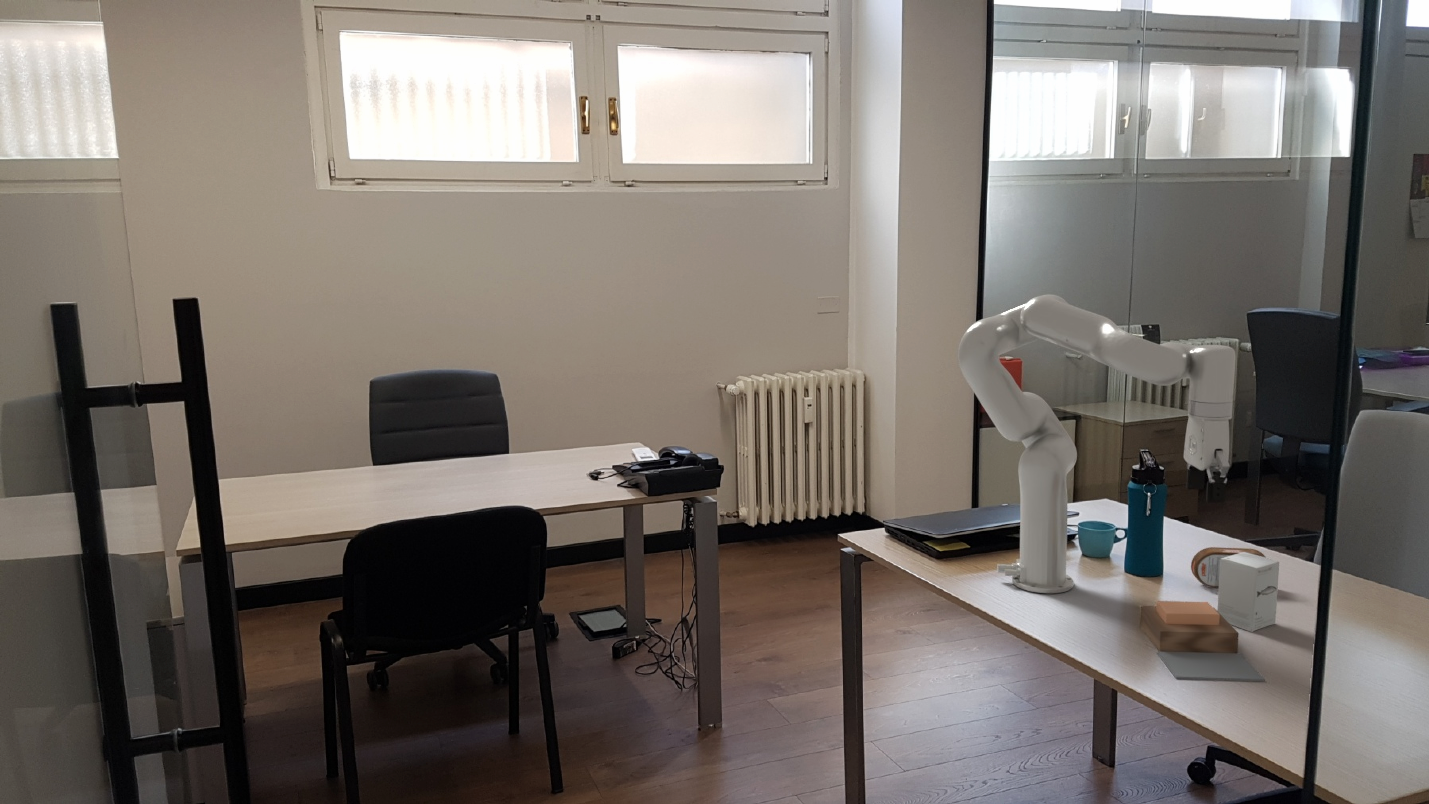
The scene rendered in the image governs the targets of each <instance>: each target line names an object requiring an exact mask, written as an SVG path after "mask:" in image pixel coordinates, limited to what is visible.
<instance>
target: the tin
mask: <svg viewBox="0 0 1429 804" xmlns="http://www.w3.org/2000/svg"><path fill="white" fill-rule="evenodd" d="M1242 552H1246V553H1250V554H1254V555H1258V556H1262V557H1265V558H1267V557H1266V555H1265V554H1264V553H1262V551H1260V550H1258V549H1254V548H1244V547H1242V548H1241V547H1219V546H1218V547H1216V546H1210V547H1205V548H1202V549H1201V550H1198V552H1197V553H1195V555H1194V556H1193V557H1192V559H1191V564H1190V570H1191V573H1192V574H1193V576H1194V577H1195V578H1196V580H1197V581H1198V582H1199V583H1200V584H1201V585H1204V586H1205V587H1208V588H1214V589H1219V576H1220V559H1221V558H1224V557H1228V556H1231V555H1235V554H1238V553H1242Z"/></svg>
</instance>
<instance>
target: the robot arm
mask: <svg viewBox="0 0 1429 804" xmlns="http://www.w3.org/2000/svg"><path fill="white" fill-rule="evenodd" d="M1039 340H1043V341H1046V342H1047V343H1048V342H1049V343H1052V344H1055V345H1057V346H1060V347H1062V348H1066V349H1067V350H1072V351H1074V352H1076V353H1079V354H1081V355H1084V356H1087V357H1089V358H1091V359H1093V360H1094V361H1096V362H1099V363H1101V364H1103V365H1105V366H1108V367H1109V368H1111V369H1114V370H1116V371H1118V372H1120V373H1122V374H1125V375H1128V376H1130V377H1134V378H1135V379H1139V380H1141V381H1143V382H1146V383H1149V384H1153V385H1156V386H1164V387H1165V386H1172V385H1174V384H1177V383H1178V382H1179V381H1180V380H1182V379H1189V387H1188V389H1189V390H1188V404H1187V405H1188V407H1187V408H1188V409H1187V410H1188V411H1187V417H1188V418H1187V419H1188V420H1187V424H1186V431H1185V439H1184V447H1183V459H1184V461H1185V462H1186V463H1187V464H1186V468H1187V469H1186V471H1187V472H1186V484H1185V485H1186V489H1187V490H1204V489H1205V480H1206V479H1205V476H1206V475H1205V474H1207V476H1208V481H1206V490H1205V491H1206V493H1205V502H1206V503H1208V504H1212V503H1213V504H1214V503H1215V504H1224V503H1225V501H1226V500H1225V499H1226V487H1227V485H1226V484H1227V482H1228V478H1227V477H1228V476H1229V473H1228V472H1229V470H1230V463H1229V455H1230V426H1229V425H1230V424H1229V420H1231V419H1232V418H1233V403H1234V402H1233V401H1234V385H1235V384H1234V383H1235V374H1236V372H1235V371H1236V359H1237V358H1236V351H1235V349H1234V348H1233V347H1232V346H1228V345H1223V344H1222V345H1221V344H1201V345H1196V344H1189V343H1182V342H1178V341H1177V342H1175V341H1168V342H1163V343H1161V344H1159V343H1156V342H1153V341H1150V340H1147V339H1144V338H1142V337H1139V336H1136V335H1134V334H1132V333H1129V332H1127V331H1126V330H1124V329H1122V328H1121V327H1119V326H1118V325H1117V324H1116V323H1115V322H1114V321H1113V320H1112V319H1110V318H1108V317H1106V316H1104V315H1102V314H1101V315H1100V314H1098V313H1095V312H1092V311H1089V310H1086V309H1083V308H1080V307H1077V306H1075V305H1072V304H1070V303H1068V302H1067V301H1066V300H1065V299H1064V298H1063V297H1061V296H1059V295H1056V294H1043V295H1038V296H1034V297H1033V298H1030V299H1029V300H1028V301H1027V302H1026V303H1024V304H1022V305H1019V306H1017V307H1015V308H1011V309H1009V310H1006V311H1004V312H1002V313H999V314H996V315H993V316H990V317H985V318H982V319H979V320H977V321H975V322H974V323H973V324H971V325H970V327H968V328H967V330H966V331H965V332H964V333H963V335H962V337H961V340H960V342H959V345H958V350H957V361H958V365H959V369H960V372H961V373H962V374H961V375H962V376H963V378H964V380H965V381H966V383H967V384H968V385H969V387H970V389H971V390H972V392H973V393H974V394H975V396H976V398H977V400H978V401H979V403H980V404H981V406H982V407H983V409H984V410H985V412H986V413H987V415H988V417H989V419H990V420H991V421H992V423H993V425H994V426H995V429H997V430H998V432H999V434H1000V435H1001V436H1002V437H1003V438H1005V439H1006V440H1008V441H1010V442H1021V443H1022V444H1023V446H1024V447H1025V449H1024V450H1023V452H1022V454H1021V455H1020V458H1019V461H1018V467H1017V469H1018V471H1017V473H1018V481H1019V493H1020V494H1019V496H1020V499H1019V500H1020V504H1019V506H1020V510H1019V511H1020V512H1019V513H1020V519H1019V521H1020V522H1019V523H1020V525H1019V526H1020V527H1019V528H1020V529H1019V558H1016V562H1012V563H1011V564H1006V563H997V565H996V572H997V573H998V574H999V573H1002V574H1004V576H1009V577H1011V582H1012V584H1013V585H1014V586H1015V587H1018V588H1019V589H1021V590H1024V591H1028V592H1032V593H1037V594H1039V593H1041V594H1059V593H1064V592H1067V591H1070V590H1072V589H1073V587H1074V581H1075V580H1074V579H1073V578H1072V577H1071V576H1070V575H1068V574H1067V554H1068V552H1067V551H1068V549H1067V545H1068V490H1067V489H1068V488H1067V475H1068V473H1069V472H1071V470H1072V469H1073V468H1074V466H1075V465H1076V462H1077V457H1078V452H1077V447H1076V445H1075V443H1074V441H1073V439H1072V437H1070V434H1069V433H1068V432H1067V430H1066V429H1065V428H1064V426H1063V425H1062V423H1061V421H1060V420H1059V418H1058V417H1057V415H1056V414H1055V413H1054V410H1053V409H1052V408H1051V406H1050V405H1049V404H1048V403H1047V402H1046V401H1045V400H1044V398H1042V397H1041V396H1039V395H1038V394H1037V393H1033V392H1030V391H1022V390H1021V388H1020V386H1019V385H1018V384H1017V383H1016V380H1015V379H1014V377H1013V376H1012V375H1011V373H1010V372H1009V371H1008V369H1006V368H1005V366H1004V365H1003V364H1002V363H1001V361H1000V360H1001V359H1000V355H1003V354H1006V353H1008V352H1011V351H1013V350H1016V349H1018V348H1021V347H1023V346H1025V345H1028V344H1032V343H1034V342H1037V341H1039ZM1214 472H1215V473H1214Z"/></svg>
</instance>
